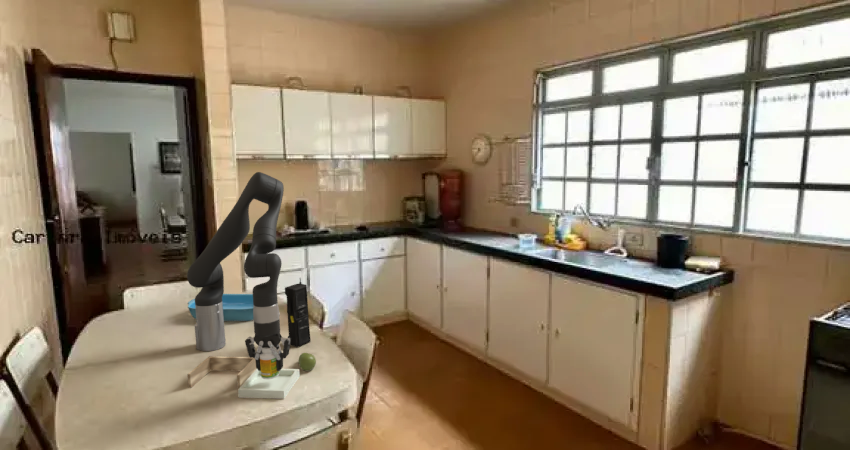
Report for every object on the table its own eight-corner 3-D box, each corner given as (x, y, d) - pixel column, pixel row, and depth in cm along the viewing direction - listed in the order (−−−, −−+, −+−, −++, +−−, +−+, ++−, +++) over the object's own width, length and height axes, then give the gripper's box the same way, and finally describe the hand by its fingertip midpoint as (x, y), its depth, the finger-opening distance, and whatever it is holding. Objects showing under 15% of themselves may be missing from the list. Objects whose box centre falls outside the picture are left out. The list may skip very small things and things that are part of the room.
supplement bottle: (273, 380, 143) (271, 350, 141) (257, 379, 144) (255, 349, 142) (282, 372, 148) (280, 343, 147) (266, 371, 149) (264, 342, 148)
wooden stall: (188, 387, 146) (187, 374, 145) (209, 368, 159) (208, 356, 158) (240, 388, 145) (239, 375, 144) (257, 369, 158) (256, 357, 157)
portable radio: (296, 349, 174) (293, 284, 170) (285, 345, 177) (281, 281, 174) (312, 341, 181) (308, 279, 177) (300, 338, 184) (297, 276, 180)
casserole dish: (279, 307, 223) (279, 292, 222) (263, 324, 201) (262, 308, 200) (203, 307, 223) (201, 292, 222) (178, 324, 201) (176, 308, 200)
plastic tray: (238, 397, 140) (237, 389, 140) (257, 375, 154) (257, 368, 153) (284, 398, 139) (283, 390, 139) (299, 376, 153) (299, 369, 153)
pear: (299, 358, 154) (295, 351, 163) (301, 374, 154) (296, 366, 163) (316, 354, 156) (311, 348, 165) (318, 370, 156) (312, 363, 165)
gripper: (238, 322, 140) (242, 375, 143) (285, 322, 139) (288, 376, 142) (248, 313, 147) (252, 364, 150) (293, 313, 146) (296, 364, 149)
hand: (269, 369), depth 146 cm, fingers closed on supplement bottle, 5 cm apart
